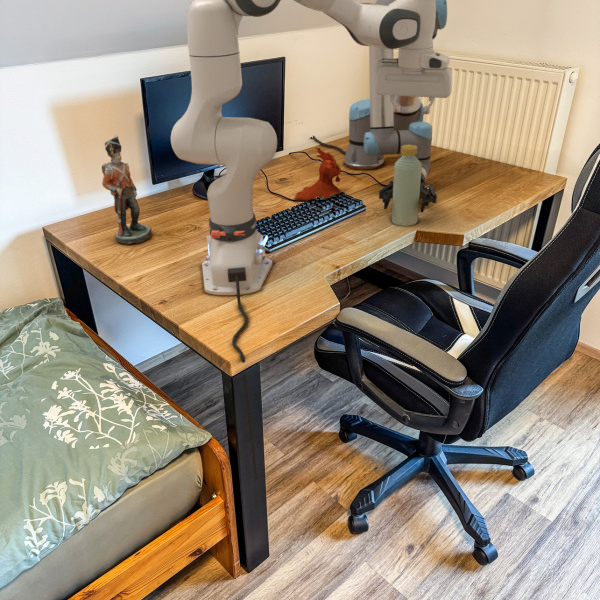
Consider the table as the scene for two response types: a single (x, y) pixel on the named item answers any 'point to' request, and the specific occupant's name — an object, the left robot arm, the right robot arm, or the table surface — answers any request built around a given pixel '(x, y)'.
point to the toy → (323, 179)
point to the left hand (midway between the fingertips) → (411, 112)
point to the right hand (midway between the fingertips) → (403, 206)
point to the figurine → (123, 195)
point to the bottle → (406, 190)
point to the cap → (409, 150)
